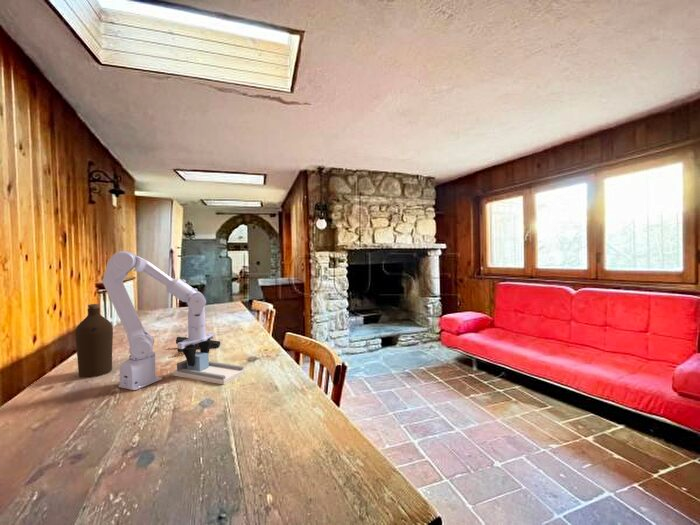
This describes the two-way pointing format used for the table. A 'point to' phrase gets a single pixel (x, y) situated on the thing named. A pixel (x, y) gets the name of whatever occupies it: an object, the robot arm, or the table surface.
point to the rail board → (211, 372)
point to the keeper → (200, 361)
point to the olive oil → (94, 344)
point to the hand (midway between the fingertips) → (197, 363)
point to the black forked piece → (215, 343)
